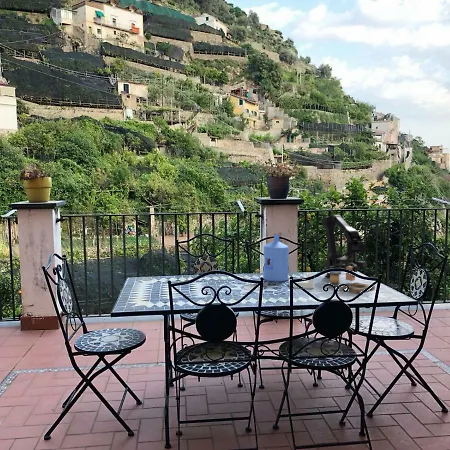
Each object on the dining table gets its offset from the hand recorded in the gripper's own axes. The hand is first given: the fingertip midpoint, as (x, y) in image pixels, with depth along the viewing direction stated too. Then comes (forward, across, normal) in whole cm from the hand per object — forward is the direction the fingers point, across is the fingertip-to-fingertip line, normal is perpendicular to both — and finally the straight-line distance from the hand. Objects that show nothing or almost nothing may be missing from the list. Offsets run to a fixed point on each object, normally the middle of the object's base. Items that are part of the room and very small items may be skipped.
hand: (350, 276), depth 260 cm
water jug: (+4, -36, -27) cm, 45 cm away
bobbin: (+4, -3, -12) cm, 13 cm away
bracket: (+5, -14, -30) cm, 34 cm away
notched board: (+4, +12, -11) cm, 17 cm away
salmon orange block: (+2, 0, 0) cm, 2 cm away
